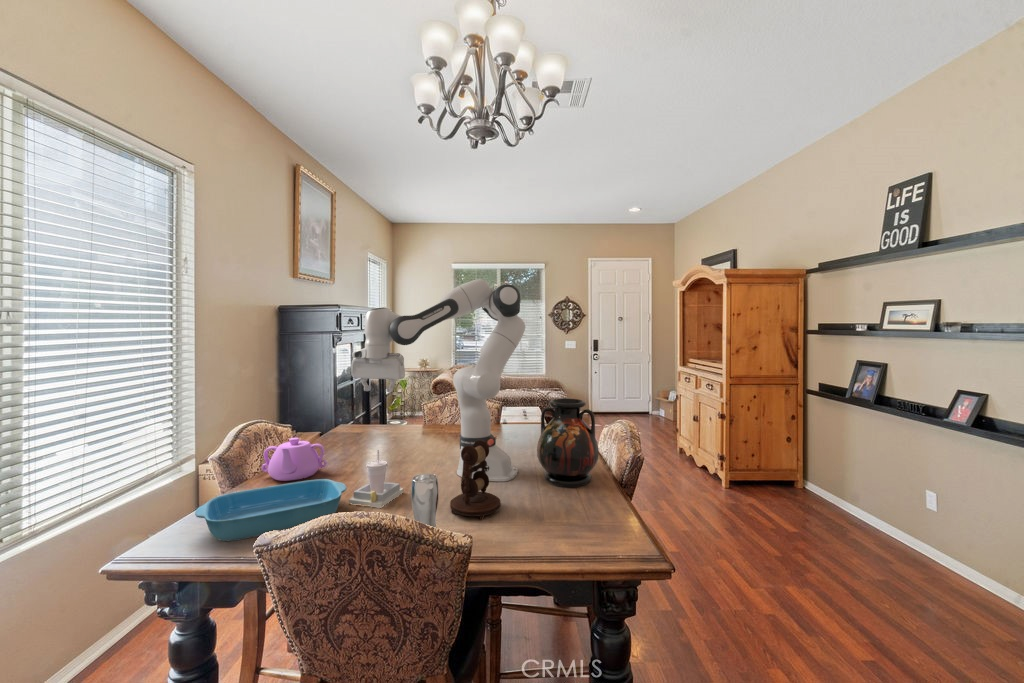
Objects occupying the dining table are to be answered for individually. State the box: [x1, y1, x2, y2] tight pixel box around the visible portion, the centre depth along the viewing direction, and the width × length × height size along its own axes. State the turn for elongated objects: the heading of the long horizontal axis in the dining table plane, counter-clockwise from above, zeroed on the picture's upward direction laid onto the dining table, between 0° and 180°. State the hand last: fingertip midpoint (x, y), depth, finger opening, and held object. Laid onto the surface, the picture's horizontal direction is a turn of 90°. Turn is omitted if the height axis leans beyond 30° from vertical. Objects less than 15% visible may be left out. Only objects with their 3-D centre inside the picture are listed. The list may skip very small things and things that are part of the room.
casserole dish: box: [194, 478, 348, 542], centre depth 122 cm, size 37×22×7 cm, turn 123°
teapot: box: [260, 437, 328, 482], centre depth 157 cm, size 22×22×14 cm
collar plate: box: [348, 481, 404, 509], centre depth 137 cm, size 11×13×4 cm
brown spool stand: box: [449, 440, 502, 521], centre depth 128 cm, size 15×15×20 cm
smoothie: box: [365, 449, 388, 493], centre depth 137 cm, size 6×6×14 cm
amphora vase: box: [536, 398, 600, 488], centre depth 153 cm, size 22×22×28 cm
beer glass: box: [410, 473, 440, 528], centre depth 113 cm, size 7×7×15 cm
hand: (378, 391), depth 157 cm, fingers open, 8 cm apart
